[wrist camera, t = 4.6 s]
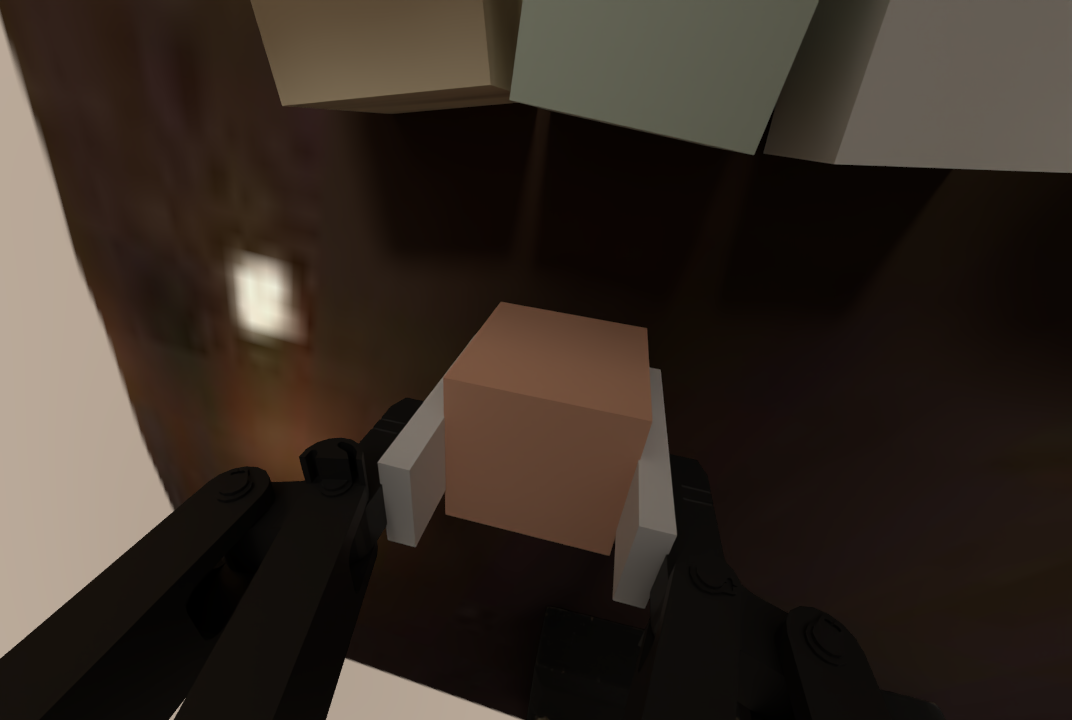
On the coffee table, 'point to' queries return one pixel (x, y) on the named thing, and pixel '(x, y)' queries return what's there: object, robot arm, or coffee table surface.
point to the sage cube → (661, 64)
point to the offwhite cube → (931, 86)
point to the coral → (618, 672)
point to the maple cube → (390, 52)
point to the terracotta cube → (547, 424)
